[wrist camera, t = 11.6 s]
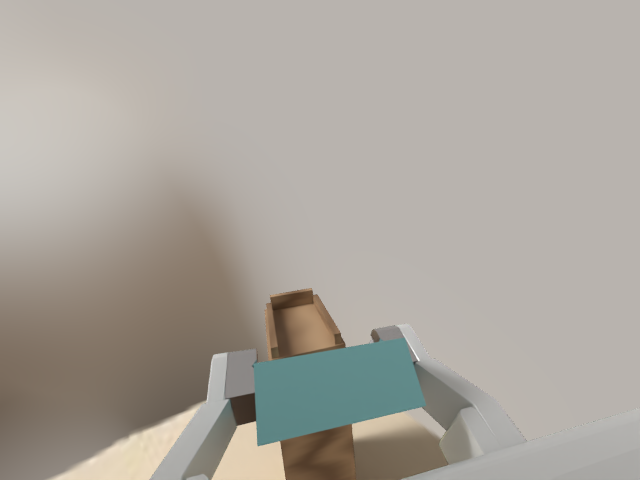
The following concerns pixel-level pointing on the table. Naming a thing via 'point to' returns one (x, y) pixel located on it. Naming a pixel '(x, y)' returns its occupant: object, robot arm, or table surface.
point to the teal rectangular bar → (333, 389)
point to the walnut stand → (300, 339)
